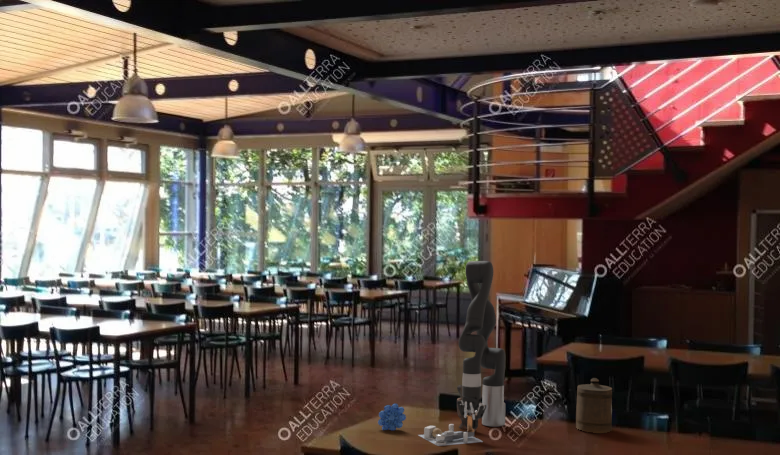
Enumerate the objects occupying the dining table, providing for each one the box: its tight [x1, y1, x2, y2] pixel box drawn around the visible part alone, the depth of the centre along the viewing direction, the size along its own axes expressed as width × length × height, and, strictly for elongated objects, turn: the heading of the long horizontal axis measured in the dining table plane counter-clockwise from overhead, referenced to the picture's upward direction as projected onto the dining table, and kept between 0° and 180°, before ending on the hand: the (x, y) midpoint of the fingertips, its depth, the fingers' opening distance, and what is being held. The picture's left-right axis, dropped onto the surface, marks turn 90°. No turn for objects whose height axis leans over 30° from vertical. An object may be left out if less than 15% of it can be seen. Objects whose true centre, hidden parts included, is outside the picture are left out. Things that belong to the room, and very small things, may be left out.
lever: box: [436, 415, 475, 442], centre depth 310 cm, size 19×4×8 cm, turn 127°
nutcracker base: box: [417, 423, 484, 447], centre depth 313 cm, size 20×18×6 cm
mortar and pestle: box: [456, 384, 477, 432], centre depth 331 cm, size 12×9×20 cm
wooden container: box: [575, 377, 613, 434], centre depth 339 cm, size 15×15×22 cm
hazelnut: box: [432, 427, 443, 438], centre depth 313 cm, size 4×4×4 cm
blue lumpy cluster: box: [377, 403, 407, 431], centre depth 327 cm, size 12×7×12 cm, turn 81°
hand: (471, 427), depth 315 cm, fingers closed on lever, 3 cm apart
